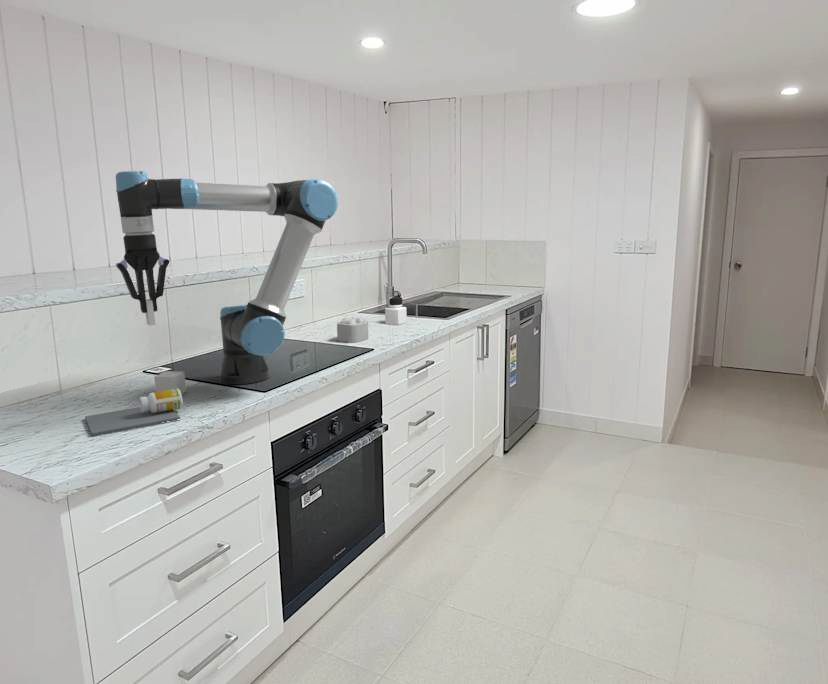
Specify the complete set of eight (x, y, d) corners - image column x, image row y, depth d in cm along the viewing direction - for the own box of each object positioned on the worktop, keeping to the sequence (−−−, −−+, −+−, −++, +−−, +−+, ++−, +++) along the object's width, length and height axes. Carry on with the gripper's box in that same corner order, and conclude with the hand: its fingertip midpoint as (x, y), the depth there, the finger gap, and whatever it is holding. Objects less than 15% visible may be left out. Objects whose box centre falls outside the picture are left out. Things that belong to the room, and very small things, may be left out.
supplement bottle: (176, 389, 169) (137, 395, 164) (180, 387, 165) (141, 393, 159) (179, 409, 169) (140, 415, 164) (184, 407, 164) (144, 414, 159)
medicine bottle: (407, 322, 286) (406, 296, 283) (398, 325, 280) (397, 298, 278) (393, 321, 290) (393, 295, 287) (385, 324, 284) (384, 297, 281)
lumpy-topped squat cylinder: (334, 341, 251) (333, 319, 249) (354, 335, 261) (353, 314, 259) (354, 343, 245) (353, 321, 243) (374, 337, 255) (374, 316, 254)
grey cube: (156, 397, 181) (154, 376, 179) (167, 390, 186) (165, 371, 185) (176, 397, 180) (173, 377, 178) (186, 391, 186) (184, 371, 184)
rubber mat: (166, 405, 173) (166, 402, 172) (180, 420, 160) (179, 417, 160) (85, 419, 162) (84, 416, 162) (92, 436, 150) (92, 433, 149)
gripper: (114, 236, 155) (128, 330, 160) (169, 232, 162) (180, 322, 168) (108, 235, 161) (121, 326, 166) (161, 231, 168) (172, 318, 174)
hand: (151, 324), depth 167 cm, fingers closed
